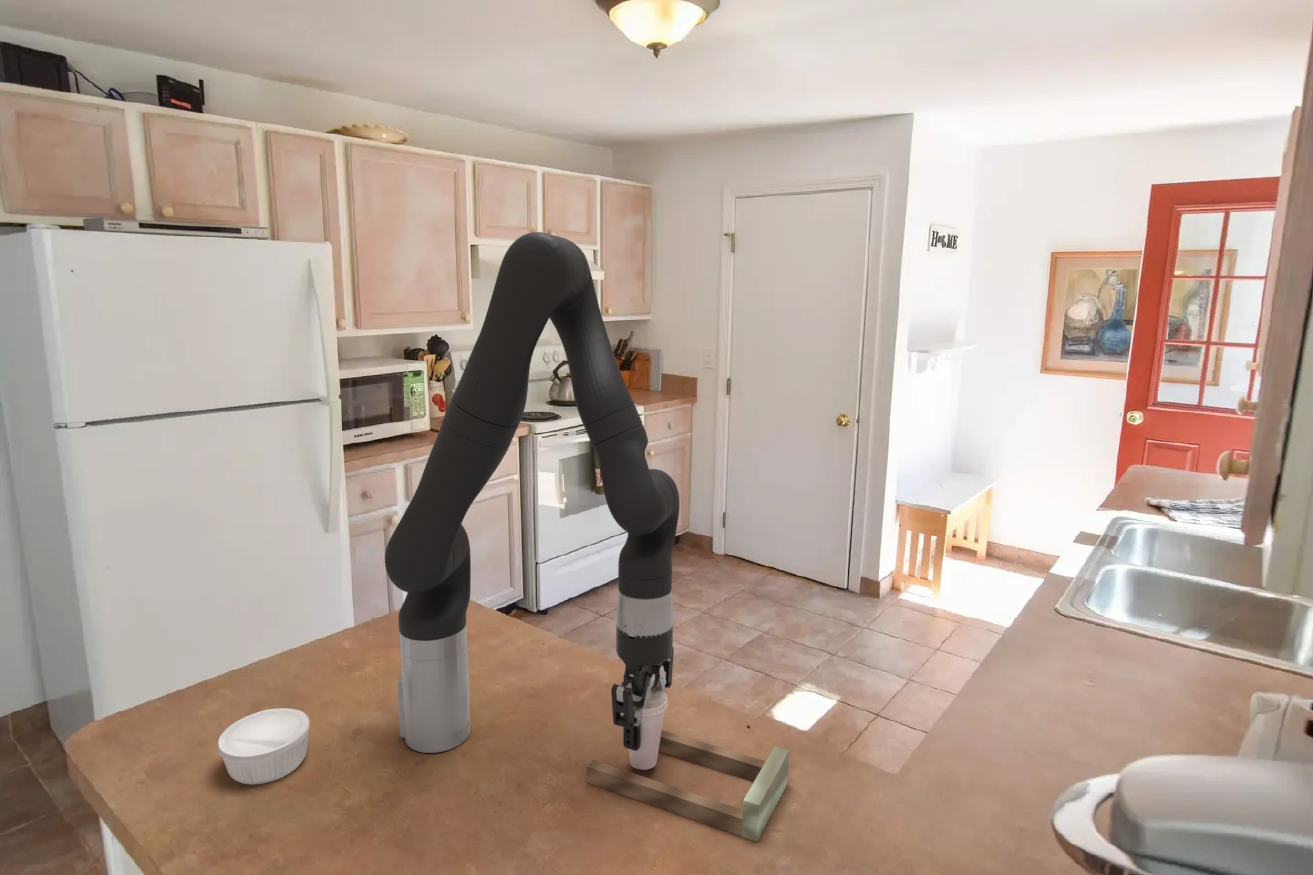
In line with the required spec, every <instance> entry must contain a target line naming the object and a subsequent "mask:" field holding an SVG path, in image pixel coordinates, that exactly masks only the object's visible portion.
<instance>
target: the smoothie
mask: <svg viewBox="0 0 1313 875" xmlns="http://www.w3.org/2000/svg"><path fill="white" fill-rule="evenodd" d="M633 699H635V700H638V701H641V699H642V697H639V696H635V695H634V698H633ZM668 703H669V702H668V695H667V693H666V694H665V692H663V691H662V690H661V691H658V690H657V689H655V688H654V689H653V690H651V691H650V695H649V700H648V705H647V707H646V708H644V709H643V710H642V716H641V721H640V724H641V743H640V748H639V749H638V750H637V751H634V750H631V749H628V748H627V749H628V756H629V763H630V765H631V766H632V768H634V769H637V770H643V771H644V770H649V769H652V768H654V767H655V766H656V765H657V761H658V755H659V751H658V750H659V744H660V737H661V731H662V730H663V723H664V718H665V716H664V715H665V711H666V709H667V708H668ZM633 709H634V716H635V712H636V707H634V706H633Z"/></svg>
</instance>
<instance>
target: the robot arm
mask: <svg viewBox="0 0 1313 875" xmlns="http://www.w3.org/2000/svg"><path fill="white" fill-rule="evenodd" d="M496 276H497V277H496V280H495V283H494V287H493V289H492V290H493V291H492V294H491V297H490V300H489V303H488V308H487V311H486V315H485V318H484V321H483V324H482V327H481V329H480V332H479V334H478V337H477V340H476V341H475V342H474V343H475V344H474V346H473V349H472V350H471V353H470V355H469V357H468V360H467V362H466V365H465V367H464V370H463V372H462V375H461V377H460V379H459V381H458V384H457V385H456V388H455V389H454V392H453V395H452V397H451V399H450V402H449V404H448V407H447V409H446V412H445V414H444V417H443V419H442V421H441V425H440V426H439V430H438V433H437V436H436V439H435V440H434V443H433V445H432V447H431V451H430V453H429V456H428V458H427V461H426V464H425V467H424V469H423V472H422V475H421V478H420V481H419V483H418V485H417V488H416V489H415V493H414V495H413V496H412V498H411V500H410V502H409V504H408V506H407V508H406V510H405V511H404V512H403V515H402V517H401V518H400V521H399V522H398V524H397V525H396V527H395V530H394V531H393V533H392V535H391V536H390V539H389V540H388V543H387V545H386V548H385V551H384V566H385V570H386V573H387V575H388V578H389V579H390V581H391V583H392V584H393V585H394V586H395V587H397V589H398V590H401V591H403V592H406V596H405V599H404V601H403V603H402V605H401V607H400V609H399V612H398V633H399V646H400V647H399V649H400V662H401V663H400V664H401V674H399V675H398V677H396V688H397V689H396V690H397V705H398V721H399V737H400V738H403V739H404V740H405V743H406V745H407V746H408V748H410V749H412V750H413V751H416V752H419V753H426V754H428V753H430V754H433V753H435V754H436V753H442V752H446V751H448V750H452V749H454V748H456V747H459V746H460V745H462V744H463V743H464V742H465V741H467V739H468V738H469V736H470V733H471V713H470V710H471V707H470V685H469V684H470V683H469V682H470V680H469V679H470V678H469V658H468V653H469V651H468V634H467V633H468V632H467V631H468V630H467V611H468V609H469V608H468V607H469V603H470V601H471V600H470V599H471V577H472V576H471V575H472V573H471V572H472V570H471V569H472V568H471V566H472V564H471V562H472V561H471V545H470V540H469V536H468V533H467V530H466V529H465V527H464V525H463V524H462V523H463V521H464V518H465V516H466V515H467V512H468V510H469V509H470V508H471V506H472V504H473V503H474V501H475V500H476V498H477V497H478V496H479V494H480V493H481V491H482V490H483V489H484V487H486V484H487V483H488V482H489V480H490V479H491V478H492V476H493V474H494V473H495V472H496V470H497V469H498V468H499V465H500V464H501V462H502V461H503V459H504V457H505V456H506V454H507V452H508V450H509V448H510V446H511V444H512V441H513V439H514V437H515V434H516V433H517V430H518V427H519V425H520V423H521V421H522V417H523V415H524V412H525V409H526V405H527V399H528V391H529V379H530V370H531V369H530V367H531V362H532V358H533V355H534V351H535V348H536V346H537V344H538V342H539V340H540V337H541V335H542V333H543V332H544V329H545V327H546V326H547V323H548V321H549V320H550V321H551V323H552V325H553V326H554V328H555V330H556V332H557V334H558V336H559V338H560V341H561V343H562V346H563V349H564V354H565V356H566V361H567V364H568V365H567V366H568V369H569V376H570V381H571V387H572V393H573V399H574V403H575V404H576V405H575V406H576V409H577V411H578V415H579V417H580V420H581V422H582V425H583V427H584V429H585V432H586V434H587V436H588V439H589V441H590V444H591V445H592V448H593V450H594V452H595V454H596V457H597V461H598V467H599V468H598V469H599V475H600V478H601V484H602V488H603V493H604V497H605V501H606V505H607V507H608V510H609V512H610V515H611V516H612V518H613V519H614V521H615V522H616V524H617V525H618V526H619V527H620V528H621V529H622V530H623V531H625V532H626V533H627V537H626V541H625V543H624V545H623V546H622V548H621V549H620V553H619V557H618V564H617V565H618V566H617V567H618V568H617V569H618V570H617V571H618V575H617V576H618V581H617V582H618V583H617V584H618V585H617V586H618V590H617V596H616V597H617V599H616V605H615V606H616V610H615V611H616V614H615V617H616V622H615V623H616V624H615V625H616V626H615V628H616V629H615V634H616V636H615V640H616V642H615V646H616V647H615V648H616V650H615V651H616V655H617V656H618V657H619V659H620V660H621V661H622V662H623V663H624V665H625V667H624V673H623V681H622V682H621V684H617V683H613V684H612V686H611V690H610V691H611V706H612V707H611V708H612V721H613V722H612V723H613V725H614V726H617V727H618V726H619V727H621V728H623V732H622V733H623V739H622V740H623V741H622V742H623V747H624V748H625V749H631V750H634V751H637V750H638V749H639V748H640V743H641V724H640V721H641V716H642V710H643V709H644V708H646V707H647V705H648V700H649V695H650V691H651V690H653V689H654V688H655V689H657V690H658V691H661V690H662V691H663V692H665V694H666V695H667V689H670V688H671V686H672V683H673V668H674V652H675V649H674V648H675V647H674V646H673V645H674V644H673V642H674V640H673V639H674V601H673V600H674V599H673V589H672V588H673V587H672V583H673V577H672V576H673V573H672V572H673V562H672V555H673V550H674V545H675V541H676V534H677V529H678V528H677V527H678V522H679V515H680V493H679V489H678V487H677V484H676V482H675V481H674V480H675V479H673V478H672V477H671V476H670V475H669V474H668V473H666V472H665V471H663V470H661V469H656V468H650V467H649V465H648V462H647V458H646V453H645V452H646V449H647V447H648V445H649V439H648V435H647V430H646V429H645V428H646V427H645V425H644V424H643V421H642V419H641V416H640V414H639V412H638V409H637V407H636V405H635V402H634V400H633V397H632V395H631V393H630V391H629V388H628V386H627V384H626V381H625V379H624V377H623V374H622V372H621V369H620V367H619V364H618V361H617V358H616V355H615V353H614V351H613V348H612V344H611V342H610V339H609V336H608V332H607V329H606V327H605V323H604V319H603V316H602V312H601V309H600V304H599V301H598V297H597V296H598V295H597V293H596V288H595V283H594V280H593V276H592V271H591V269H590V265H589V262H588V259H587V257H586V255H585V253H584V252H583V250H582V249H581V248H580V247H579V246H578V245H577V244H576V243H575V242H573V241H572V240H569V239H567V238H565V237H561V236H558V235H554V234H552V233H551V234H550V233H548V232H547V233H546V232H542V231H541V232H540V231H534V232H533V231H532V232H529V233H526V234H522V235H521V236H520V237H518V238H517V239H515V240H514V241H513V242H512V243H511V244H510V245H509V247H508V248H507V251H506V252H505V254H504V256H503V258H502V260H501V264H500V266H499V270H498V272H497V275H496ZM664 672H665V673H664ZM634 695H635V696H639V697H642V699H641V701H638V700H635V699H633V698H634ZM633 706H634V707H636V712H635V716H634V709H633Z"/></svg>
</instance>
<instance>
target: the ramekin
mask: <svg viewBox="0 0 1313 875" xmlns="http://www.w3.org/2000/svg"><path fill="white" fill-rule="evenodd" d="M310 727H311V722H310V718H309V716H308V715H307V714H306V713H305V712H304V711H302V710H299V709H294V708H285V707H284V708H282V707H281V708H280V707H279V708H270V709H265V710H261V711H257V712H254V713H252V714H249V715H246V716H244V717H243V718H242V717H241V719H239V720H237V721H235V722H233V723H232V724H231V725H229V726H228V727H227V728H226V729H224V731H222V732H221V734H220V735H219V738H218V739H217V740H218V741H217V750H218V753H219V755H220V756H221V757H222V759H223V763H224V765H225V767H226V771H227V773H228V775H229V777H231V779H233V780H234V781H236V782H238V783H241V784H244V785H252V786H253V785H263V784H266V783H271V782H274V781H277V780H279V779H282V778H285V777H286V776H287V775H290V774H291V773H293V772H294V771H295V770H297V768H298V767H299V766H300V765H301V764H302V762H303V760H304V759H305V757H306V754H307V751H308V742H309V741H308V739H309V733H310V732H309V731H310V729H311V728H310Z"/></svg>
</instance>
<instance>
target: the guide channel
mask: <svg viewBox="0 0 1313 875" xmlns="http://www.w3.org/2000/svg"><path fill="white" fill-rule="evenodd" d="M658 753H663V754H664V755H669V756H672V757H676V758H678V759H682V760H685V761H687V762H688V761H689V762H691V763H694V764H698V765H701V766H702V767H703V766H704V767H707V768H709V769H713V768H714V769H713V770H716V769H717V771H719V770H720V771H719V772H723V773H726V774H729V775H733V776H735V777H739V778H742V779H746V780H749V781H751V782H753V783H752V785H751V786H750V788H749V789H748V792H747V793H746V795H745V796H744V799H743V802H742V809H741V808H739V807H736V806H732V805H730V804H726V803H724V802H721V801H717V800H714V799H712V798H708V797H705V796H702V795H700V794H696V793H693V792H691V791H687V790H686V789H685V790H684V789H681V788H678V787H676V786H673V785H669V784H667V783H663V782H661V781H657V780H654V779H652V778H649V777H645V776H642V775H640V774H636V773H634V772H631V771H627V770H625V769H621V768H619V767H615V766H612V765H609V764H607V763H603V762H601V761H599V760H595V759H593V760H591V762H590V763H588V764H587V765H586V783H588V784H591V785H594V786H596V787H598V788H602V789H605V790H607V791H610V792H612V793H616V794H618V795H622V796H625V797H628V798H631V799H633V800H637V801H639V802H642V803H644V804H648V805H650V806H654V807H656V808H659V809H662V810H665V811H668V812H671V813H673V814H676V815H679V816H682V817H683V818H684V817H685V818H687V819H690V820H693V821H697V822H699V823H702V824H704V825H708V826H709V827H713V828H715V829H719V830H722V831H725V832H727V833H730V834H733V835H736V836H738V837H742V838H745V839H747V840H750V841H754V842H755V843H758V842H759V840H760V838H761V836H762V835H763V832H764V830H765V828H766V826H767V825H768V822H769V820H770V819H771V817H772V815H773V813H774V811H775V809H776V806H777V804H778V803H779V801H780V799H781V797H782V795H783V793H784V791H785V789H786V787H787V785H788V778H789V777H788V776H789V762H790V761H789V758H790V750H789V749H785V748H782V747H778V746H774V747H773V748H772V750H771V751H770V754H769V755H768V757H767V759H766V760H763V759H760V758H757V757H754V756H750V755H747V754H743V753H739V752H737V751H733V750H729V749H726V748H724V747H721V746H720V747H719V746H716V745H713V744H709V743H708V742H703V741H699V740H697V739H692V738H690V737H686V736H682V735H680V734H676V733H674V732H669V731H667V730H663V729H662V731H661V737H660V744H659V750H658Z"/></svg>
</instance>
